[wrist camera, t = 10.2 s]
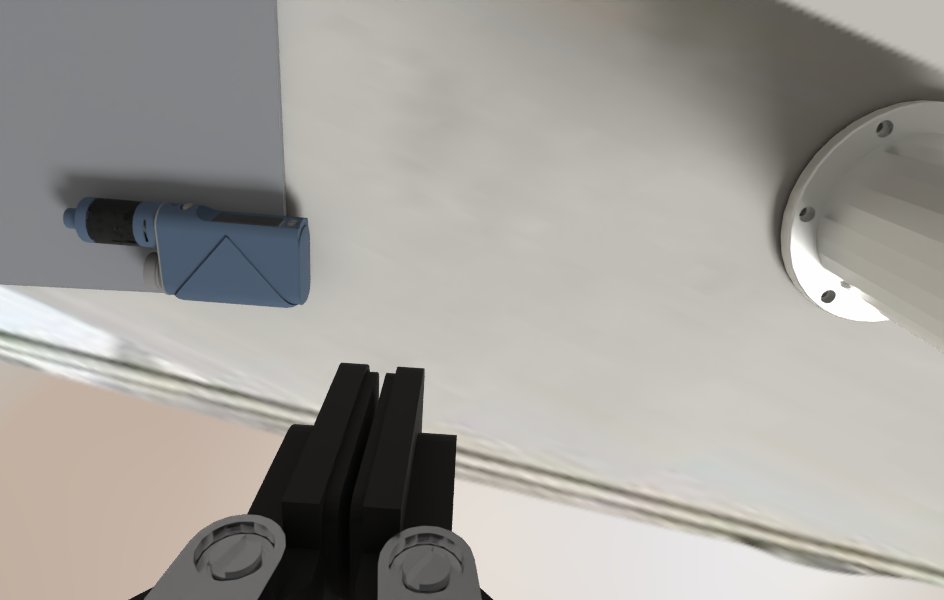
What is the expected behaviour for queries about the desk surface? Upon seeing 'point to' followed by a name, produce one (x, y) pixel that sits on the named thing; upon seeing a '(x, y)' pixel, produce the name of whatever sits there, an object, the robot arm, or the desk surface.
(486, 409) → the desk surface
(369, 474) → the robot arm
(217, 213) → the vaping device
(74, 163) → the mat
